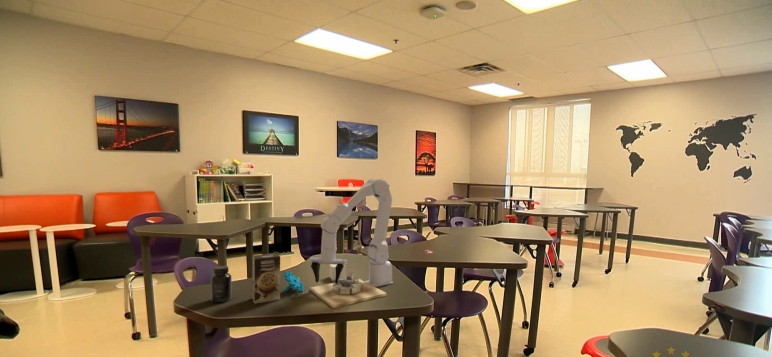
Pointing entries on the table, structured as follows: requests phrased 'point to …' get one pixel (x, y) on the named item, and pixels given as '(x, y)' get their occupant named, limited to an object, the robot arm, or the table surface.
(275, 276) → the cookie box
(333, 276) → the cream cube
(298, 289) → the gear
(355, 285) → the faceted metal ring
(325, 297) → the beige square board
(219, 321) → the table surface
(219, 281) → the supplement bottle
